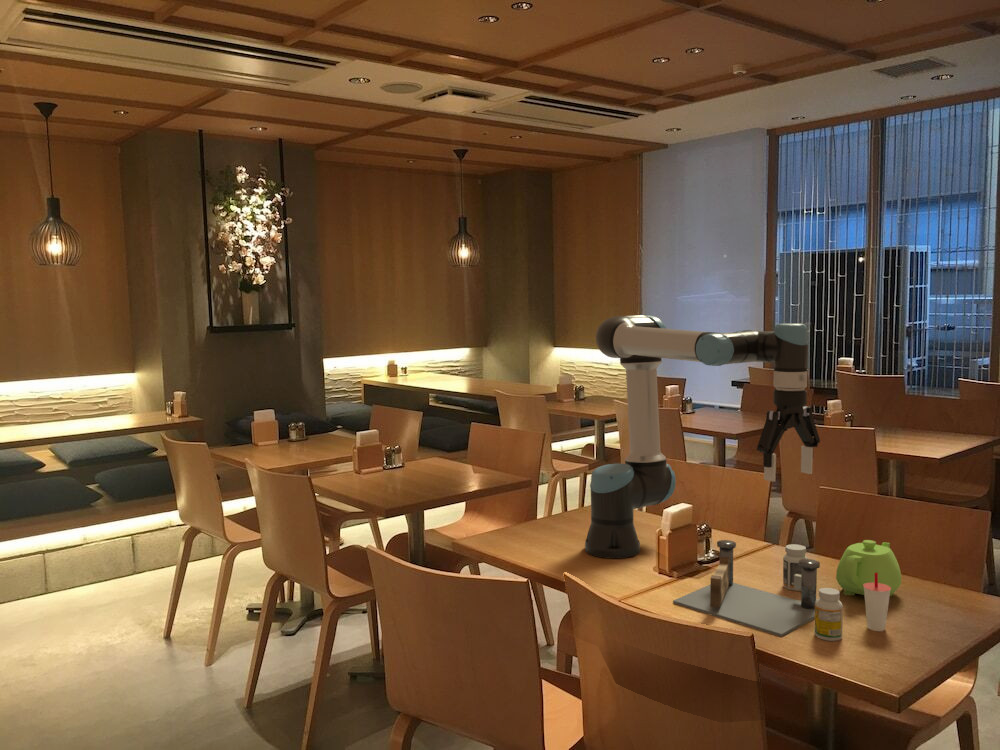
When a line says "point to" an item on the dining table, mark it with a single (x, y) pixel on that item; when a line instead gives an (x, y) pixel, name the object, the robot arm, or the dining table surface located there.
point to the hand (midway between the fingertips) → (788, 476)
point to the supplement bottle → (828, 615)
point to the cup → (876, 604)
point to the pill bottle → (792, 564)
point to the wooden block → (719, 583)
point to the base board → (752, 608)
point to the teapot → (868, 567)
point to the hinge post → (727, 555)
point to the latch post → (807, 582)
